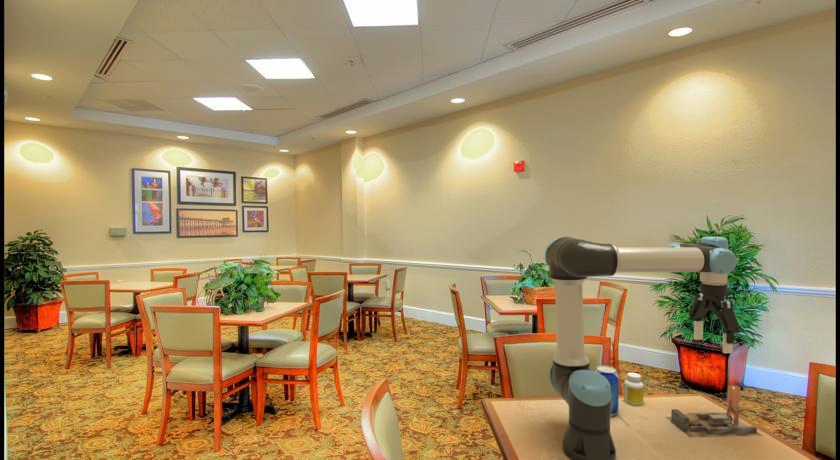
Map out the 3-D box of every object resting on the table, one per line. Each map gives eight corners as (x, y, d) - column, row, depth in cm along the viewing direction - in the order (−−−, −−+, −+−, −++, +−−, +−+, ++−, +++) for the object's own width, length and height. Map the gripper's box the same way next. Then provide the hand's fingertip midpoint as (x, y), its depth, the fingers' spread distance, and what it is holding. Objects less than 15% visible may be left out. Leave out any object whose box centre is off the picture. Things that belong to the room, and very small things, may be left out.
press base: (689, 440, 135) (690, 423, 135) (664, 420, 148) (665, 404, 148) (762, 439, 136) (763, 422, 136) (732, 418, 149) (732, 403, 149)
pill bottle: (645, 410, 156) (646, 379, 155) (626, 408, 157) (627, 377, 157) (640, 402, 162) (640, 372, 162) (621, 400, 164) (622, 371, 163)
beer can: (594, 415, 152) (595, 372, 151) (591, 405, 160) (592, 363, 159) (619, 419, 149) (620, 374, 148) (616, 408, 157) (617, 366, 156)
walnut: (689, 429, 140) (689, 416, 139) (680, 422, 144) (681, 410, 144) (702, 429, 140) (702, 416, 140) (693, 422, 144) (693, 410, 144)
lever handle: (718, 431, 139) (719, 391, 138) (703, 420, 146) (704, 382, 145) (749, 430, 139) (751, 391, 138) (732, 419, 146) (734, 382, 145)
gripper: (755, 290, 129) (753, 358, 130) (698, 276, 154) (697, 334, 155) (731, 290, 129) (729, 359, 130) (678, 277, 154) (677, 334, 155)
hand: (712, 345), depth 142 cm, fingers open, 13 cm apart
